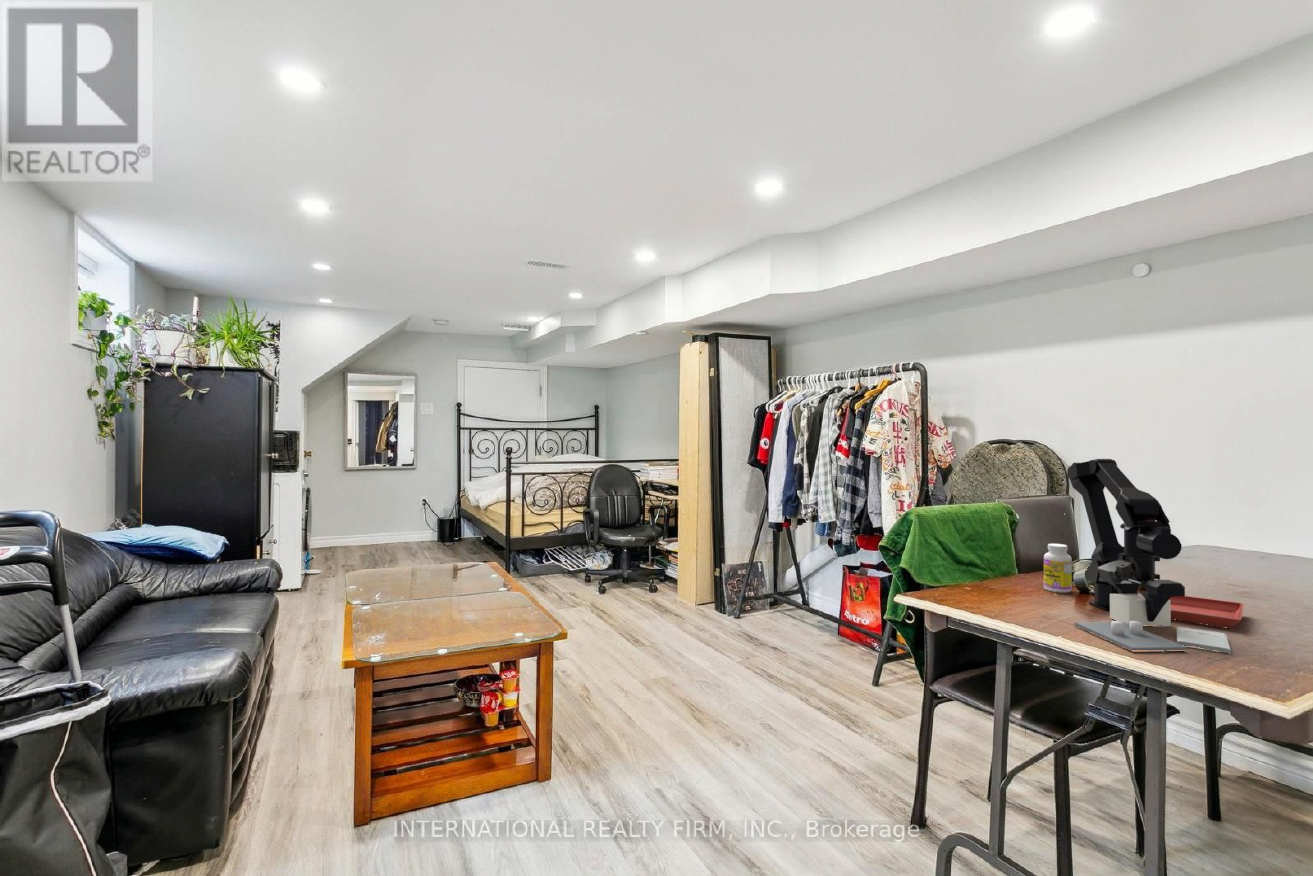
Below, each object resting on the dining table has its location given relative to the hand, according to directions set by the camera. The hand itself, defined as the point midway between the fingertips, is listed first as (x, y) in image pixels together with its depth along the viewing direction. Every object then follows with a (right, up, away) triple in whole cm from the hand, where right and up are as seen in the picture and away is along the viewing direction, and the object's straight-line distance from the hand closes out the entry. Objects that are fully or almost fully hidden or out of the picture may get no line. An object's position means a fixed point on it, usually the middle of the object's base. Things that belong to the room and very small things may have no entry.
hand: (1139, 617), depth 144 cm
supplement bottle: (0, -1, +30) cm, 30 cm away
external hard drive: (+3, -2, -14) cm, 14 cm away
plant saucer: (+16, -2, +5) cm, 17 cm away
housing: (0, -1, 0) cm, 1 cm away
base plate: (-11, -1, -11) cm, 16 cm away
